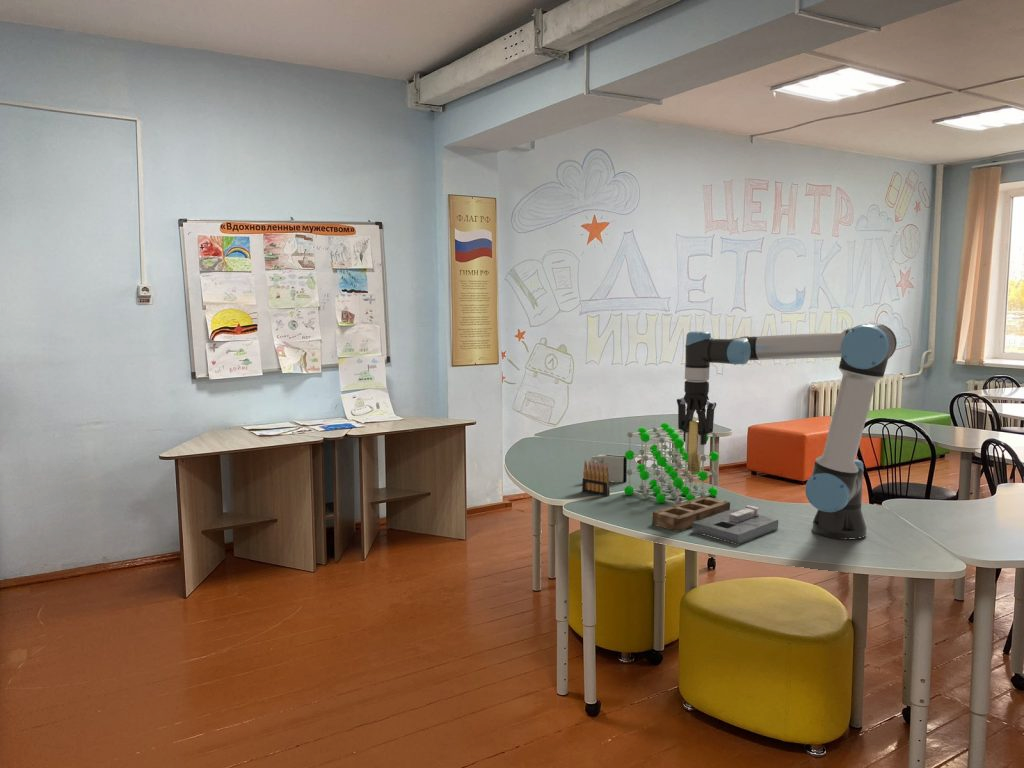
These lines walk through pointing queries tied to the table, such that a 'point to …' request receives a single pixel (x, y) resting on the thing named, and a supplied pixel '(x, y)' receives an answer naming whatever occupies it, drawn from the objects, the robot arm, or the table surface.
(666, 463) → the molecular structure model
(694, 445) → the peg
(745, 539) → the socket housing
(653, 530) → the table surface
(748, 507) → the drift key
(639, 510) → the table surface
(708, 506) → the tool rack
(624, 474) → the grey rectangular box
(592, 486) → the ammunition clip
